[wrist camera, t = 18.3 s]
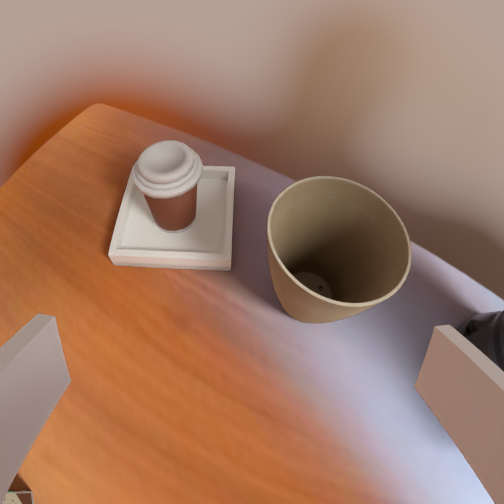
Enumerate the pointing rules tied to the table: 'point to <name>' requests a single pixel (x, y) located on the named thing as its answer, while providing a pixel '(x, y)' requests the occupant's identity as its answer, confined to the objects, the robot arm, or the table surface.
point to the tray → (184, 243)
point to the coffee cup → (169, 183)
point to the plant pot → (334, 249)
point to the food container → (18, 497)
